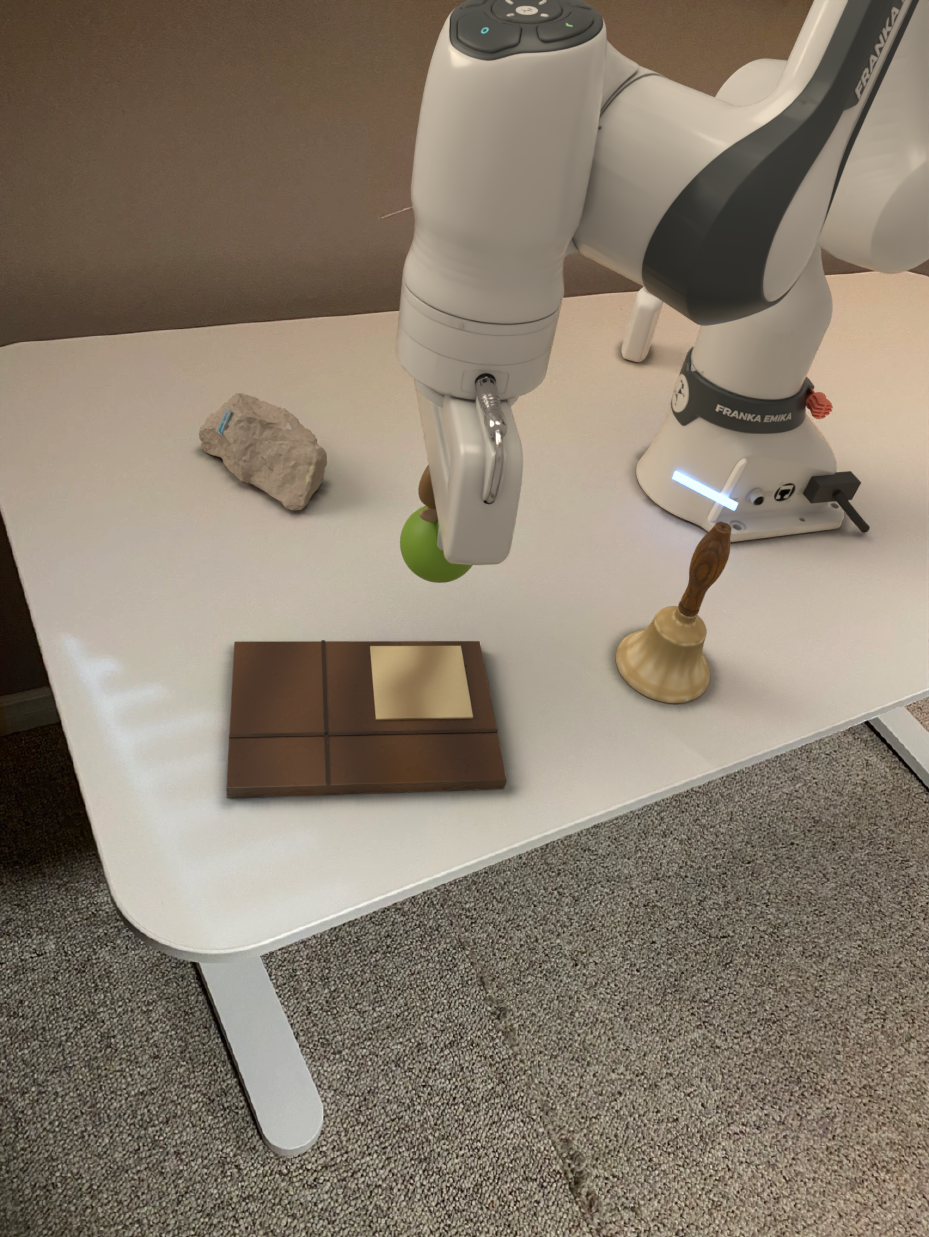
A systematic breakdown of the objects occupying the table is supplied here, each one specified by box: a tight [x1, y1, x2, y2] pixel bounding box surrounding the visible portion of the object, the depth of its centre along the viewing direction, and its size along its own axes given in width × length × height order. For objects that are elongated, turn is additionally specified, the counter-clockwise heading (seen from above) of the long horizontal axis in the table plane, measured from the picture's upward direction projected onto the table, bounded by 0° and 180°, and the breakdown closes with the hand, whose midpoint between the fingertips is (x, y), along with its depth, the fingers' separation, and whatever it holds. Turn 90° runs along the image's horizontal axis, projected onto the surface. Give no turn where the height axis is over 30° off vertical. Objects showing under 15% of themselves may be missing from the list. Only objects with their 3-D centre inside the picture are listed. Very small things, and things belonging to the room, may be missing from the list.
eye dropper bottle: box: [620, 286, 664, 363], centre depth 116 cm, size 4×6×12 cm
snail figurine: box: [399, 463, 474, 584], centre depth 61 cm, size 5×6×12 cm
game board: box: [225, 639, 507, 799], centre depth 72 cm, size 20×14×1 cm
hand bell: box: [615, 522, 732, 705], centre depth 75 cm, size 8×8×16 cm
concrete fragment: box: [198, 392, 328, 512], centre depth 90 cm, size 7×14×6 cm, turn 48°
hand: (445, 522), depth 62 cm, fingers closed on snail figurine, 3 cm apart
